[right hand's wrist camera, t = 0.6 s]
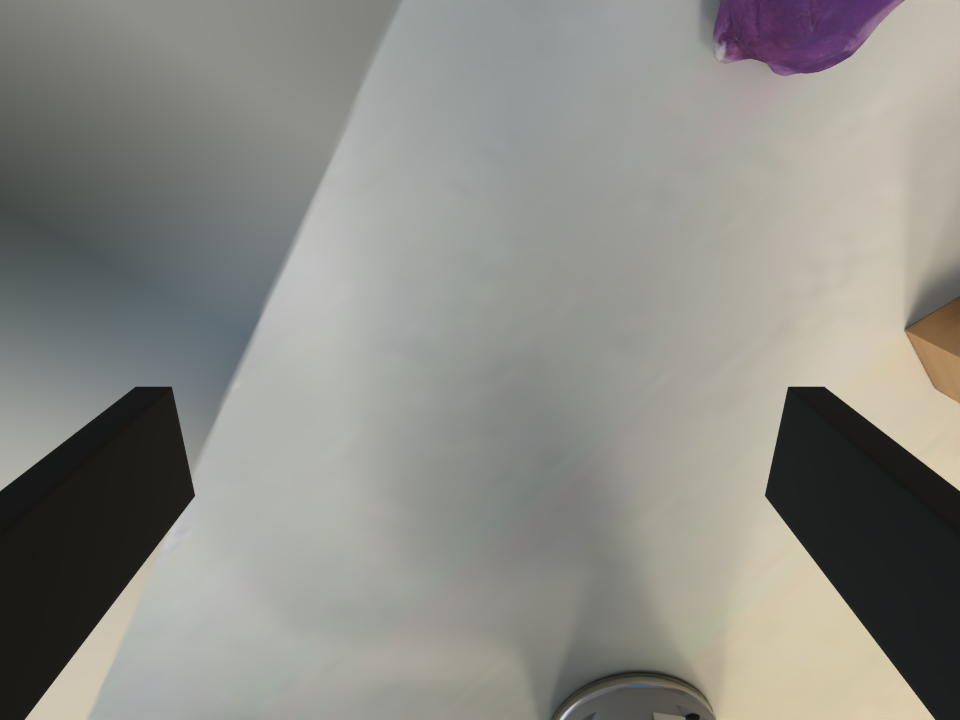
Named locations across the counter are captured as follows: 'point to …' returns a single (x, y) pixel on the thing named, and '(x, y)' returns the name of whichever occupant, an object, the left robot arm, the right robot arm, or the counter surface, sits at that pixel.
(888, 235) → the counter surface
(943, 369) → the beam
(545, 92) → the counter surface
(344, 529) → the counter surface
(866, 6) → the figurine
